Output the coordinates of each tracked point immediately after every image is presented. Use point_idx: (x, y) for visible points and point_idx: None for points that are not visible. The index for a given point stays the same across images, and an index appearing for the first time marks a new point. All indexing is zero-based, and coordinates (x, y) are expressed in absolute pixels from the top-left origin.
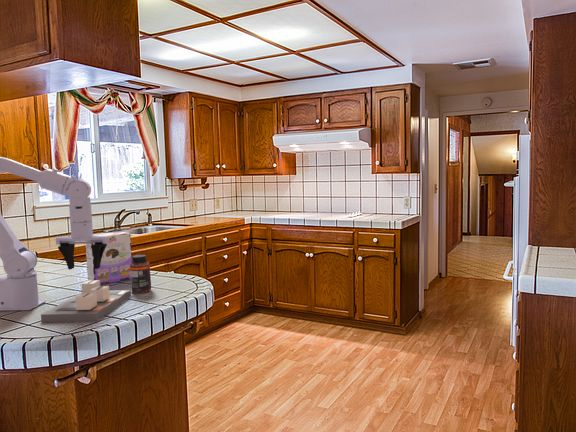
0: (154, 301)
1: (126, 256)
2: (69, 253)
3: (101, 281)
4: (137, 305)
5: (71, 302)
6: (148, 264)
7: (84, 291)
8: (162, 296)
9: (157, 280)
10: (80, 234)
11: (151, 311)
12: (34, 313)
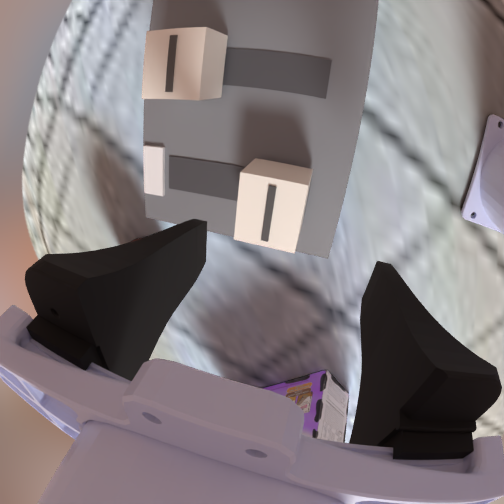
0: (78, 137)
1: None
2: (389, 356)
3: (305, 382)
4: (106, 95)
5: (325, 58)
6: None
7: (299, 171)
8: (78, 189)
9: (162, 356)
10: (110, 495)
11: (64, 42)
12: (461, 66)
